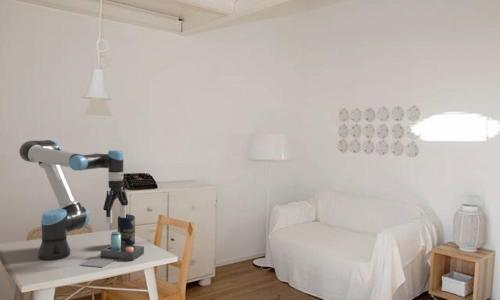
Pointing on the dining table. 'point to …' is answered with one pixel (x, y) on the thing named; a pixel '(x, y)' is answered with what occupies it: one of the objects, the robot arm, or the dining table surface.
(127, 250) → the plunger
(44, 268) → the dining table surface
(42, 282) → the dining table surface
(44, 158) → the robot arm
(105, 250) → the housing
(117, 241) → the cylinder
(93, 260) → the mat
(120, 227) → the canister
